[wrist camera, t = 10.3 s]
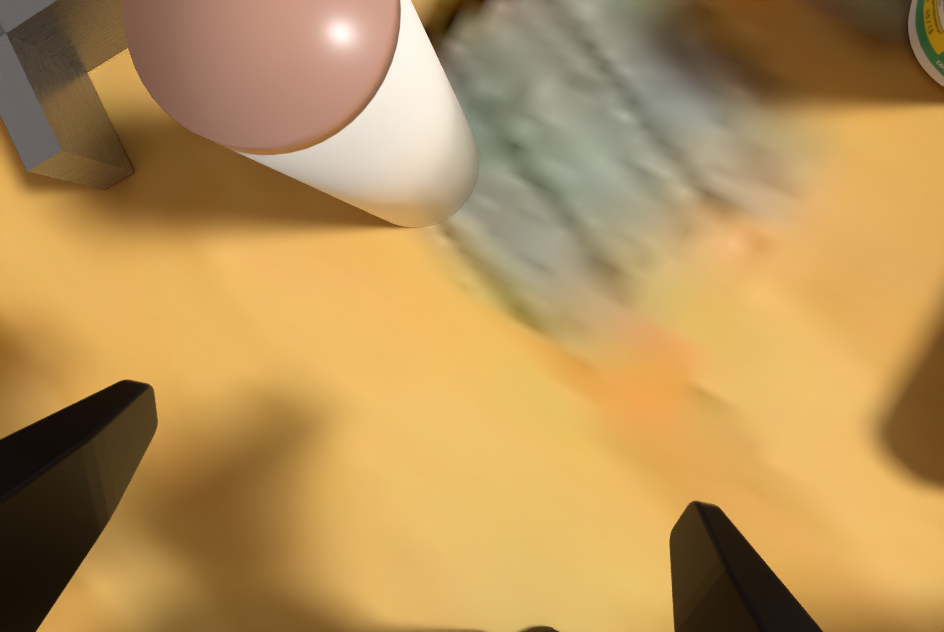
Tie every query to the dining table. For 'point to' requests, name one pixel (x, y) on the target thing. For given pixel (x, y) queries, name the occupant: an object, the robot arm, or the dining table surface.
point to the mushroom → (315, 96)
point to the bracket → (61, 87)
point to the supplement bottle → (928, 36)
